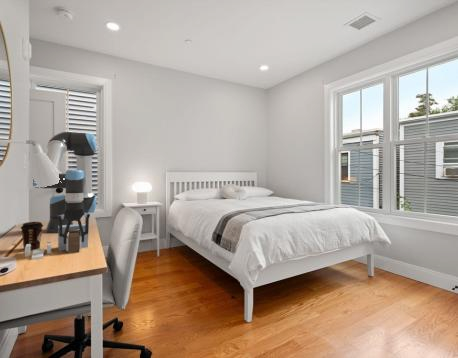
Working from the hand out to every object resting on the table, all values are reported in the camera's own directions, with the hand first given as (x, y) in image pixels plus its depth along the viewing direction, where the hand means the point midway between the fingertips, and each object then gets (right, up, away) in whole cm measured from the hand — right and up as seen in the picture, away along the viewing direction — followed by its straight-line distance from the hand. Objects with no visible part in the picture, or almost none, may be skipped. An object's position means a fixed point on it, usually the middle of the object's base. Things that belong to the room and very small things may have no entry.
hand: (73, 249), depth 123 cm
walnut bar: (-2, -1, +3) cm, 4 cm away
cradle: (-12, -1, -6) cm, 14 cm away
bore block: (-4, -1, +6) cm, 7 cm away
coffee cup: (-22, -1, +2) cm, 22 cm away
